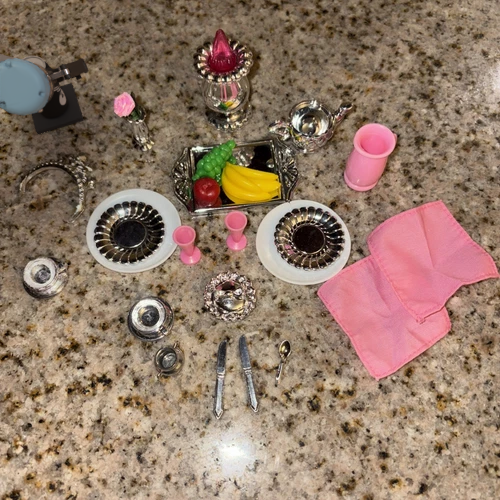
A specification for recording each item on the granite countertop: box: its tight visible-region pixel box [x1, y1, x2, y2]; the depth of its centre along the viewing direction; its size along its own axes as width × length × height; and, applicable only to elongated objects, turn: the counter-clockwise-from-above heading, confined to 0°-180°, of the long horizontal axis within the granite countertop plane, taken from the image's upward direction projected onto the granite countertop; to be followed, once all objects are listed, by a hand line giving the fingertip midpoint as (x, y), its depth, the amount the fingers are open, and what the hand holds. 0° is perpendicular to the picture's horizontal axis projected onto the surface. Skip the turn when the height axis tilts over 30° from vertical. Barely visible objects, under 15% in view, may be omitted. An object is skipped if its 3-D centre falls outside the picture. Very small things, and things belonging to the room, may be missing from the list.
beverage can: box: [21, 55, 68, 117], centre depth 100 cm, size 7×7×12 cm
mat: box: [31, 82, 84, 135], centre depth 106 cm, size 10×10×1 cm
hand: (39, 83), depth 100 cm, fingers open, 13 cm apart
